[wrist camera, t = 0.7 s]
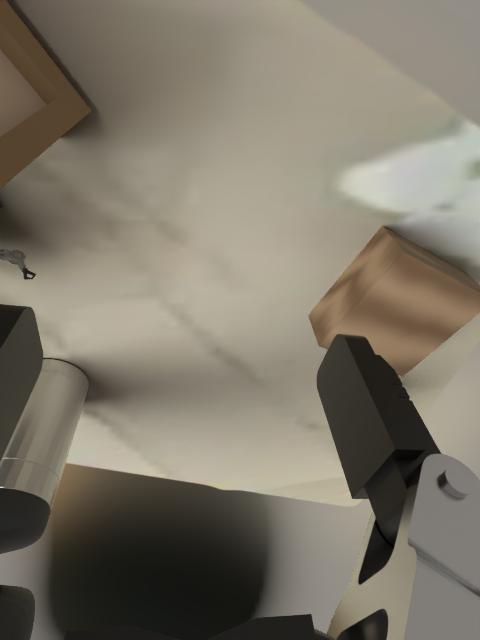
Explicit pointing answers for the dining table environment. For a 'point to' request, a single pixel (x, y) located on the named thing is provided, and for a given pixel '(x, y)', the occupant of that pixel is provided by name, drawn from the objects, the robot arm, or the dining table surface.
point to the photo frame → (30, 97)
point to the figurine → (16, 259)
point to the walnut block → (397, 301)
